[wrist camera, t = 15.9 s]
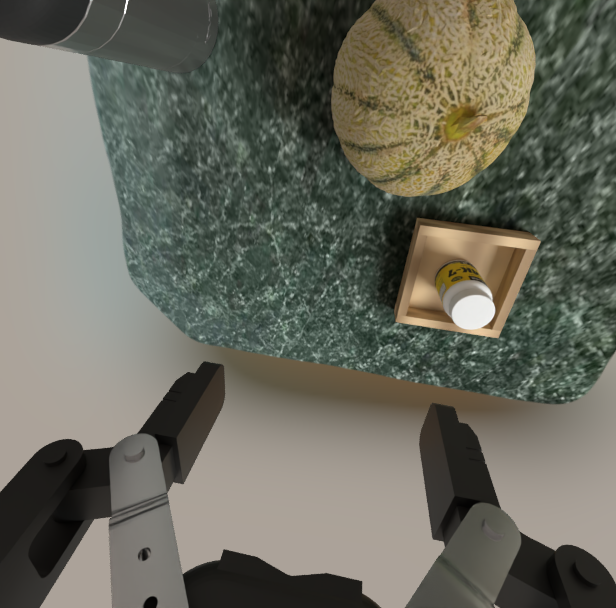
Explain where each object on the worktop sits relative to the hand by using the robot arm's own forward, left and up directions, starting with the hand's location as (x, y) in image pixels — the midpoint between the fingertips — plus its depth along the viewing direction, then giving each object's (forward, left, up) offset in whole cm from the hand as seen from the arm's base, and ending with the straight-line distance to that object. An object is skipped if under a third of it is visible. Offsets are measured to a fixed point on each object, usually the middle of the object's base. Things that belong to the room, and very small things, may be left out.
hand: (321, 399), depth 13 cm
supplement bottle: (+13, -6, -30) cm, 33 cm away
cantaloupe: (+4, +11, -30) cm, 32 cm away
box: (+13, -6, -30) cm, 33 cm away
